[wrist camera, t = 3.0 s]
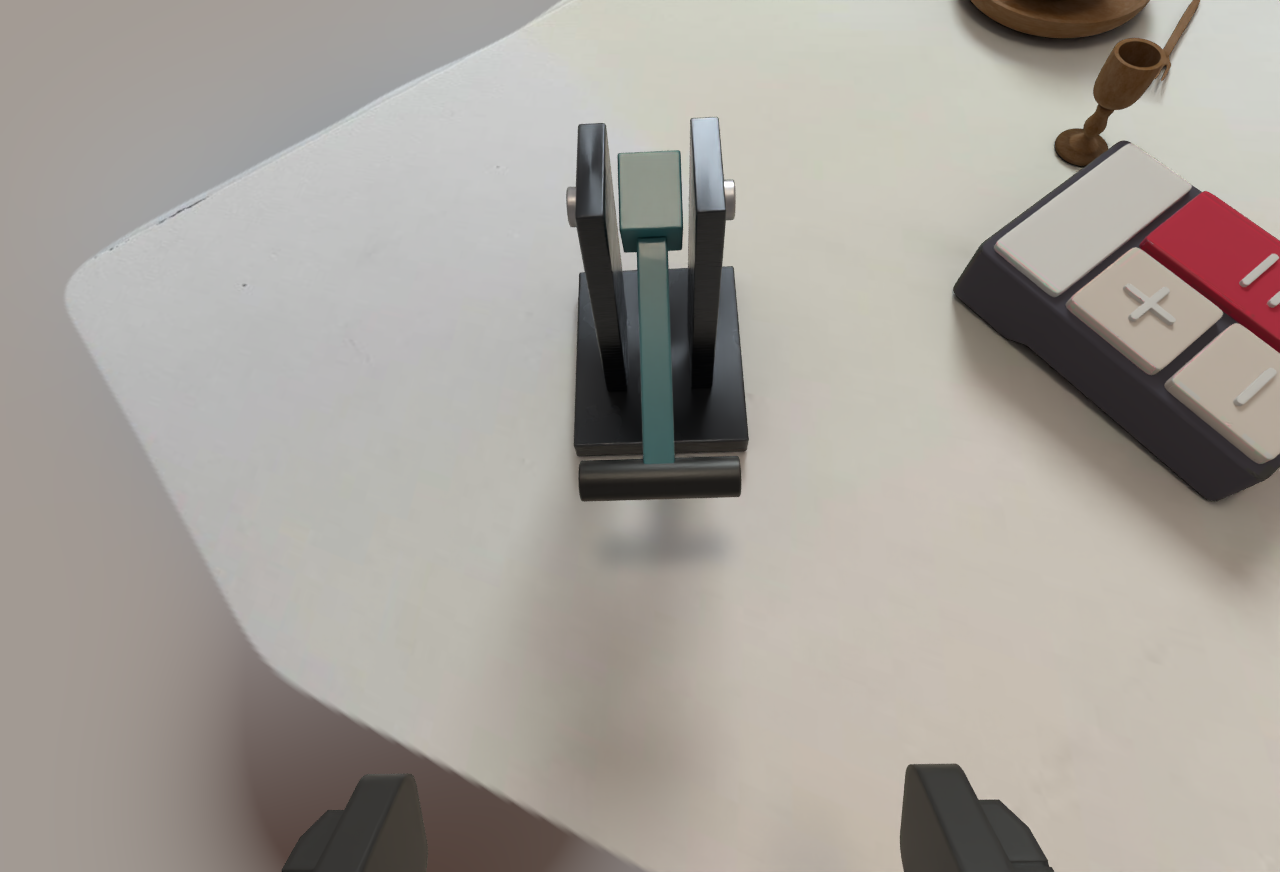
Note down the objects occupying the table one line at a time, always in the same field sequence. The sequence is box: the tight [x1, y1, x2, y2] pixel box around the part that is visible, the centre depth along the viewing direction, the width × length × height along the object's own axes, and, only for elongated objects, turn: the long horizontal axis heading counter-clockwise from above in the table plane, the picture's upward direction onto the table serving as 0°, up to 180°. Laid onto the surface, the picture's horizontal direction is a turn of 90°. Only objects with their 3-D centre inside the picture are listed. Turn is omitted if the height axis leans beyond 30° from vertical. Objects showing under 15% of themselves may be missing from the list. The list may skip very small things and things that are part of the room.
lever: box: [579, 150, 741, 501], centre depth 26 cm, size 12×6×2 cm, turn 2°
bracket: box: [566, 117, 749, 456], centre depth 30 cm, size 10×8×13 cm
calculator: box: [953, 141, 1280, 501], centre depth 34 cm, size 11×4×15 cm
